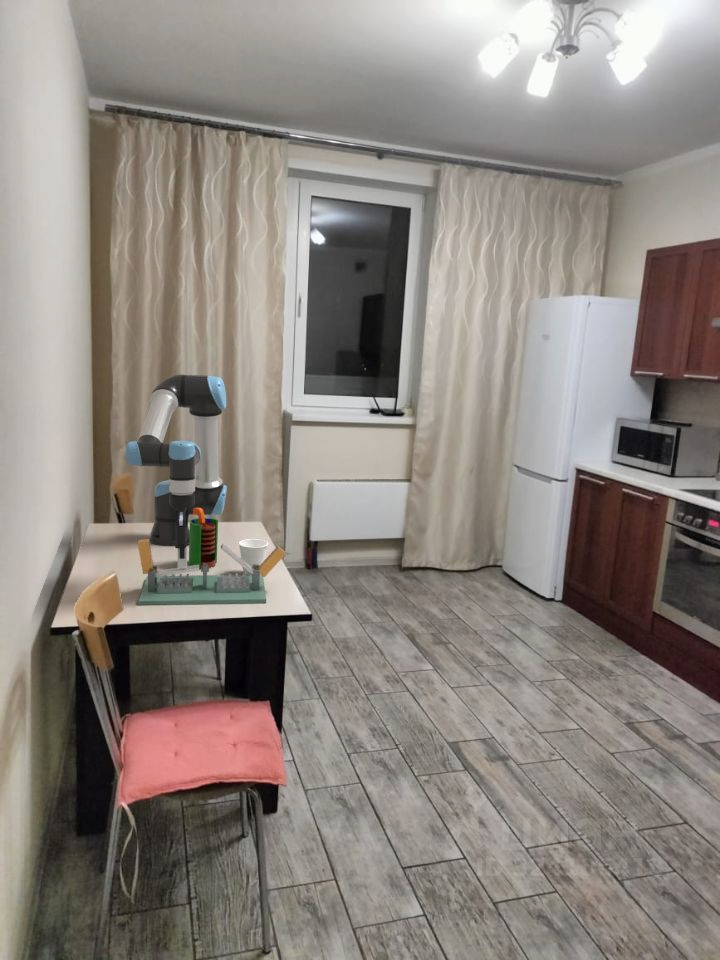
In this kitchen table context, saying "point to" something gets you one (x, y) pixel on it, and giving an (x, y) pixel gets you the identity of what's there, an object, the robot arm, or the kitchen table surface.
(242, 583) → the set of grey blocks
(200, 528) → the motor
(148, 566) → the strap
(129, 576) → the kitchen table surface
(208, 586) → the board
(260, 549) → the cup
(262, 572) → the strap
